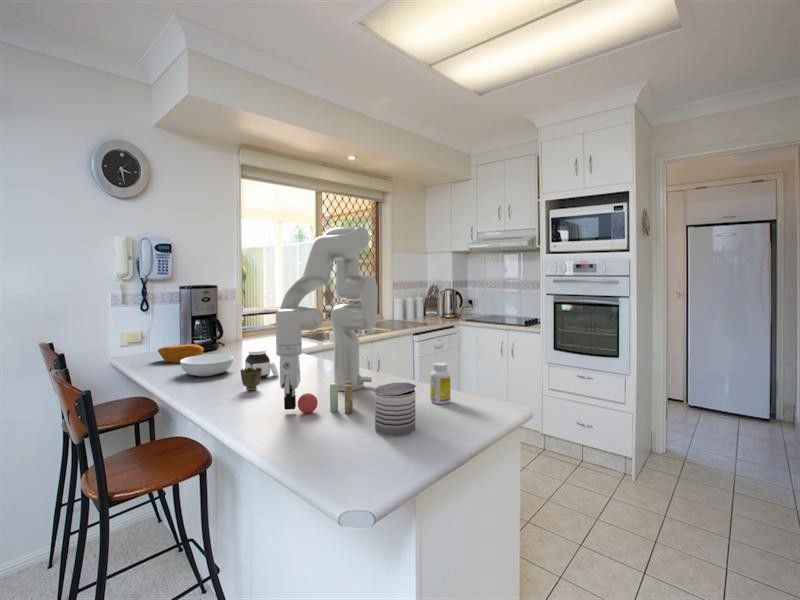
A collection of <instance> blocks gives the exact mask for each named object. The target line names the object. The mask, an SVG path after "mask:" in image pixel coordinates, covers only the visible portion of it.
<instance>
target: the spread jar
mask: <svg viewBox="0 0 800 600" xmlns="http://www.w3.org/2000/svg"><path fill="white" fill-rule="evenodd" d="M244 367H245V368H246V369H248V368H249V367H250V368H252V367H253V369H256V368H257V367H258V368H262V372H261V380H263V378H264V379H266V378H268V377H269V376H270V374H271V373H272V375H273V376H274V377H277V376H279V371H278V369H277V366H276V364H275V362H274V361H273V360H271V359H270V358H269V356H268V355H267V349H266V348H252V349H249V350H248V355H247V356H246V358H245V361H244ZM245 368H244V369H245Z"/></svg>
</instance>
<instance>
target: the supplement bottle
mask: <svg viewBox="0 0 800 600" xmlns="http://www.w3.org/2000/svg"><path fill="white" fill-rule="evenodd" d="M432 368H433V371H432V370H431V372H430V375H429V376H430V385H429V386H430V388H429V389H430V390H429V391H430V395H429V397H430V402H431V404H437V405H447V404H449V403H450V402H451V373H450V372H449V371H448V370H447V369H448V363H446V362H433V365H432Z"/></svg>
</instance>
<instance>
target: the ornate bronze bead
mask: <svg viewBox="0 0 800 600" xmlns="http://www.w3.org/2000/svg"><path fill="white" fill-rule="evenodd" d="M261 372H262V368H258V367H257V368H256V369H253V367H252V368H250V367H249V368H248V369H246V368H242V369H240V371H239V373H240V378H241V381H242V384H243V385H242V386H244V387H246V389H245V390H246V391H247V392H255V391H257V389H258V388H257V386H259V385H260V382H261V380H262V379H261ZM254 390H255V391H254Z"/></svg>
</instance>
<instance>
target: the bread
mask: <svg viewBox="0 0 800 600" xmlns="http://www.w3.org/2000/svg"><path fill="white" fill-rule="evenodd" d="M204 350H205V348H204V347H203V346H201V345H199V344H196V343H192V344H190V343H188V344H178V345H170V346H163V347H160V348H158V349H157V352H158V354H159V355H160V357H162V359H163V360H164V362H166V363H172V364H173V363H174V364H180V360H182V359H184V358H187V357H192V356H199V355H203V353H204Z"/></svg>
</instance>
